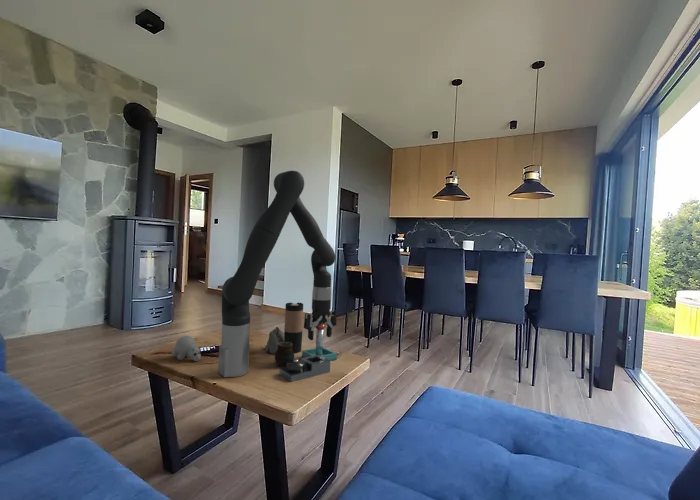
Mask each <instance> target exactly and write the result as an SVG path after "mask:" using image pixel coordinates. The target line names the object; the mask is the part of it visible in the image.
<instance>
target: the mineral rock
mask: <svg viewBox="0 0 700 500" xmlns="http://www.w3.org/2000/svg"><path fill="white" fill-rule="evenodd" d="M280 342H284V332H283V330H281V329H280V328H279V327H278V326H276V327H275V328H274V329H272V331H270V332H269V333H268V340H267V342H266V345H265V346H266V353H267V354H272V355H275V353H276V351H277V349H278V343H280Z"/></svg>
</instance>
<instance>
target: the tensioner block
mask: <svg viewBox="0 0 700 500" xmlns="http://www.w3.org/2000/svg"><path fill="white" fill-rule="evenodd" d="M278 372H279V375H280V376H281V377H283V378H285V379H286V380H288V381H289V382H291V383H292V382H296V381H300V380H303V379H308V378H311V377H315V376H318V375H323V374H327V373H331V361H330V360H328V359H326V358H324V357H322V356H320V355H314V356H309V357H304V358H303V357H300V358H299V359H298V358H294V360H291V361H288V362H287V367H280V368H279V371H278Z"/></svg>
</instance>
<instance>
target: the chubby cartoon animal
mask: <svg viewBox="0 0 700 500" xmlns="http://www.w3.org/2000/svg"><path fill="white" fill-rule="evenodd" d="M201 348H202V346H201V345H199V346H197V342H196V340H195V338H194V337H193V336H190V335H183V336H180V337H179V338H178V339H177V340H176V342H175V344H174V348H172V351H171V355H172V356H176V358H177V360H178V361H183V360H184V359H185V358H188V359H189V358H191V359H192V360H193V361H194V362H198V361H201V359H202V356H201V355H202V354H201Z"/></svg>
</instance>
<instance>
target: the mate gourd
mask: <svg viewBox="0 0 700 500" xmlns="http://www.w3.org/2000/svg"><path fill="white" fill-rule="evenodd" d="M290 342H291V341H290ZM290 342H280V343H278V349H277V351H276V353H274V361H275V363H276V365H277V366H278V367H280V368H284V367H287V362H288V361H291V360H294V359H295V353H294V352H293V349H292V347H293V344H292V343H290Z"/></svg>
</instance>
